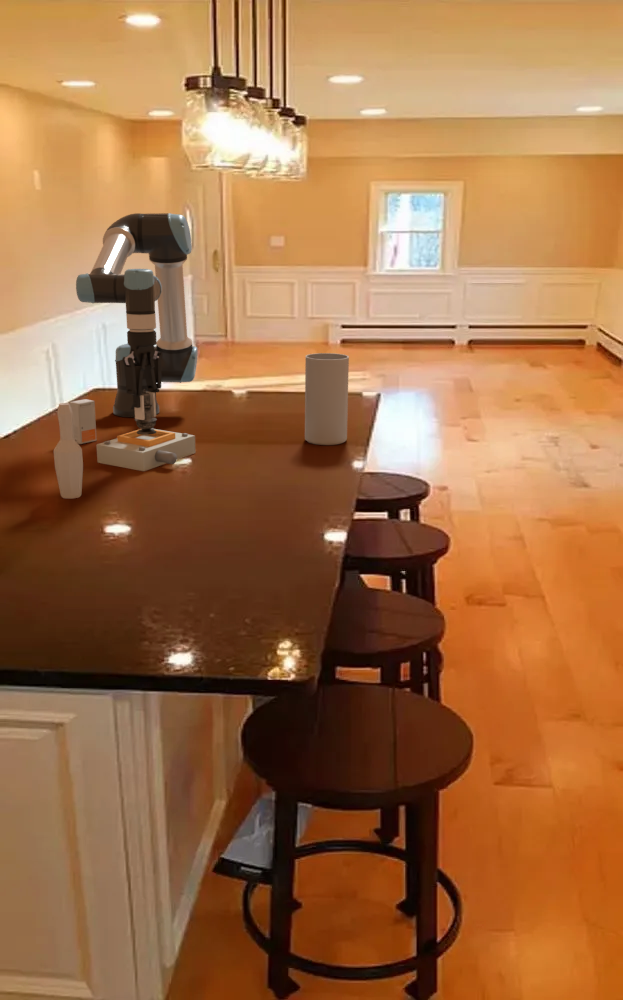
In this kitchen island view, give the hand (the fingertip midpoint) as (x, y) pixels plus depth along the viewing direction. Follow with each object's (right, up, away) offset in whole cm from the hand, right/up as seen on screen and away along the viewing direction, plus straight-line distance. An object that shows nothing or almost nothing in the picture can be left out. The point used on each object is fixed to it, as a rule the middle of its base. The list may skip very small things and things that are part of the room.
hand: (145, 417), depth 236 cm
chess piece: (0, -4, +1) cm, 4 cm away
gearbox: (+2, -11, +2) cm, 11 cm away
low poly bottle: (-12, -21, -29) cm, 38 cm away
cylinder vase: (+49, -5, +24) cm, 55 cm away
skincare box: (-22, -5, +20) cm, 30 cm away
